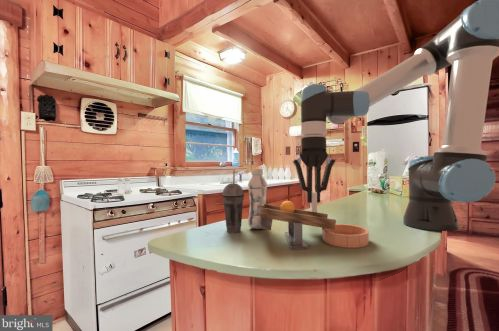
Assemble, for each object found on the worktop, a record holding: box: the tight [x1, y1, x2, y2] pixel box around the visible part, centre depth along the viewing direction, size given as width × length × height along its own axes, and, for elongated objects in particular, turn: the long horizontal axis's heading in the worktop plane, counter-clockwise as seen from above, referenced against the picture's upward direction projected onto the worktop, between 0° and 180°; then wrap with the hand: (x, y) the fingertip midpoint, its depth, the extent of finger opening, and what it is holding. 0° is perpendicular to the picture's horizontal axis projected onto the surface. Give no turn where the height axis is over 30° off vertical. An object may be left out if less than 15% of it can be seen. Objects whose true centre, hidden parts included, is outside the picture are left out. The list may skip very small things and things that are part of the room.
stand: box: [284, 222, 308, 250], centre depth 71 cm, size 4×13×6 cm, turn 179°
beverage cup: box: [221, 169, 245, 233], centre depth 83 cm, size 7×7×20 cm
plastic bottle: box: [247, 168, 268, 230], centre depth 85 cm, size 6×7×20 cm
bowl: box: [321, 223, 370, 249], centre depth 71 cm, size 12×12×3 cm
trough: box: [259, 202, 337, 231], centre depth 74 cm, size 20×15×6 cm
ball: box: [279, 200, 296, 213], centre depth 71 cm, size 4×4×4 cm
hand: (313, 213), depth 78 cm, fingers closed
